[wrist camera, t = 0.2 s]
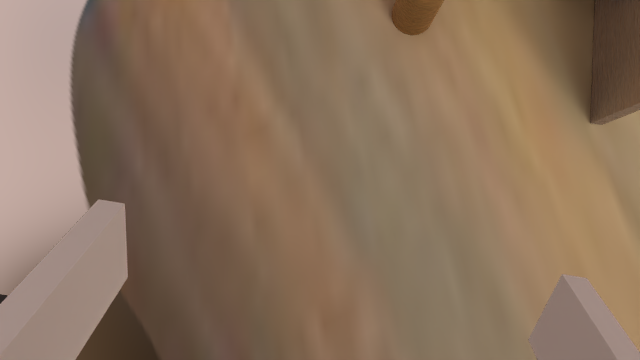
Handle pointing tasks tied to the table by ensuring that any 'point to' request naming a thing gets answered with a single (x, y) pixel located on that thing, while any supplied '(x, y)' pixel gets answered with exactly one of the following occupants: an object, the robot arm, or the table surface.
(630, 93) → the hinge
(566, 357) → the robot arm
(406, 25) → the pin
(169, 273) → the table surface
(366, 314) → the table surface
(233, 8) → the table surface
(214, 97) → the table surface
